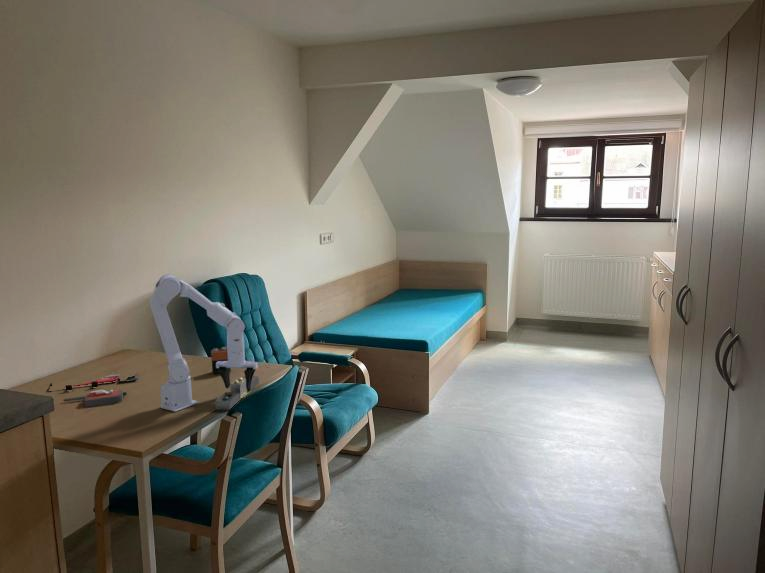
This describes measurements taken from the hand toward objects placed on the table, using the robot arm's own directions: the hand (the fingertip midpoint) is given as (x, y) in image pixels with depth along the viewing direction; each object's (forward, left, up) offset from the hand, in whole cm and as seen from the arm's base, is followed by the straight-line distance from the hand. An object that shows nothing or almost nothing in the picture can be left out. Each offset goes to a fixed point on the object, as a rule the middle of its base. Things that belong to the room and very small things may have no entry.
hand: (238, 387), depth 195 cm
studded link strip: (0, 0, -3) cm, 3 cm away
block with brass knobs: (0, 0, -3) cm, 3 cm away
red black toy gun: (-17, +59, -4) cm, 62 cm away
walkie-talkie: (-29, +39, -4) cm, 49 cm away
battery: (+16, +26, -3) cm, 31 cm away
